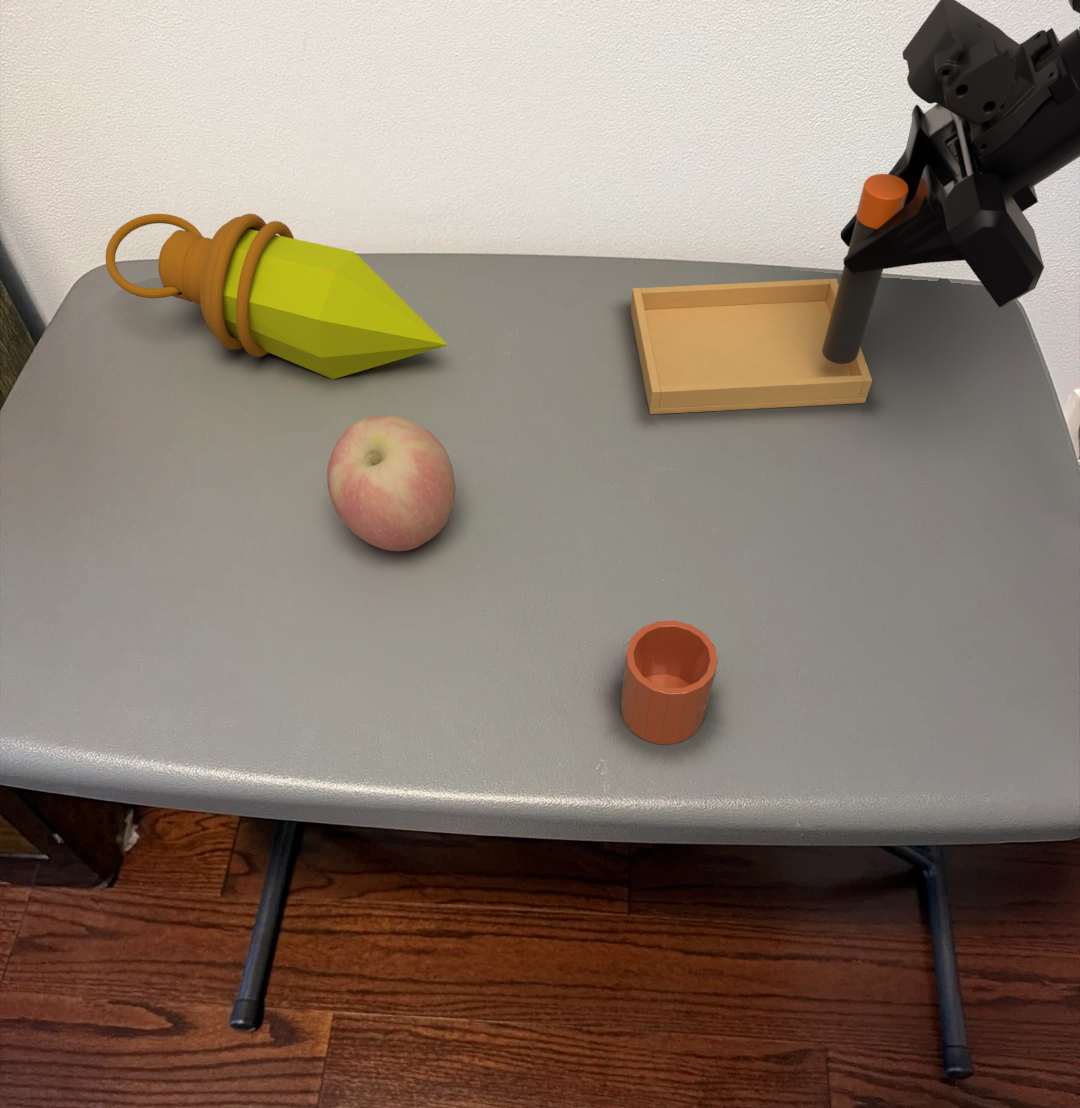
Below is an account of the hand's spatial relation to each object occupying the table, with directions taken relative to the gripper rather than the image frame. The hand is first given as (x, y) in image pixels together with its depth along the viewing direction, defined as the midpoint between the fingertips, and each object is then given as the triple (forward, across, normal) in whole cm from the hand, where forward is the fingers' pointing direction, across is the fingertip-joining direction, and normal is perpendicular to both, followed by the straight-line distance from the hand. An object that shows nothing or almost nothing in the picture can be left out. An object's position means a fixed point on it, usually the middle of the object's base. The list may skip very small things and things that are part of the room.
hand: (845, 253), depth 68 cm
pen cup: (+14, +28, 0) cm, 32 cm away
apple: (+27, +16, -12) cm, 33 cm away
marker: (+4, 0, +6) cm, 8 cm away
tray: (+11, -3, +4) cm, 12 cm away
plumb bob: (+34, -1, -19) cm, 39 cm away
